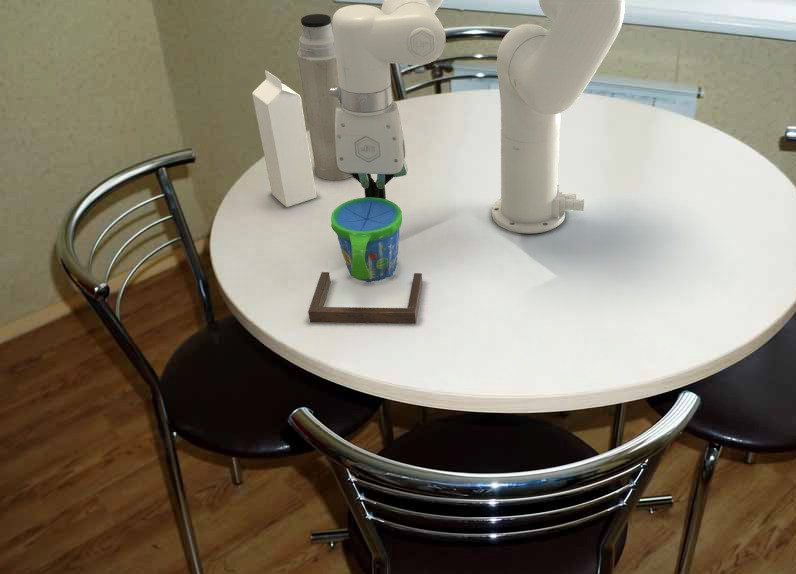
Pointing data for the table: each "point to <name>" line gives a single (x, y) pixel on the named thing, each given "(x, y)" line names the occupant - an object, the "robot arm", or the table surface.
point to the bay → (363, 314)
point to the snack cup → (368, 236)
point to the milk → (284, 141)
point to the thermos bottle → (320, 91)
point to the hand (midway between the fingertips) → (376, 206)
